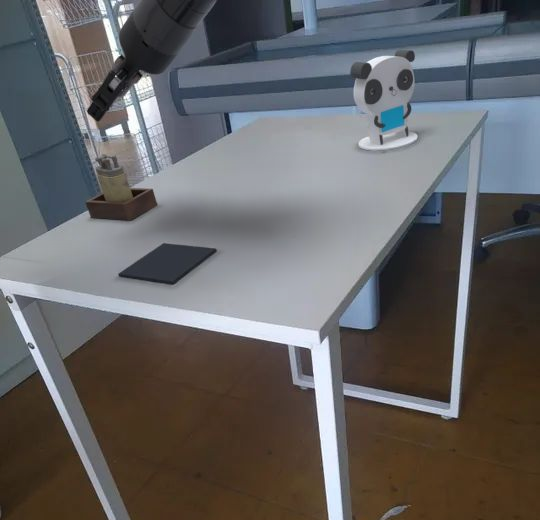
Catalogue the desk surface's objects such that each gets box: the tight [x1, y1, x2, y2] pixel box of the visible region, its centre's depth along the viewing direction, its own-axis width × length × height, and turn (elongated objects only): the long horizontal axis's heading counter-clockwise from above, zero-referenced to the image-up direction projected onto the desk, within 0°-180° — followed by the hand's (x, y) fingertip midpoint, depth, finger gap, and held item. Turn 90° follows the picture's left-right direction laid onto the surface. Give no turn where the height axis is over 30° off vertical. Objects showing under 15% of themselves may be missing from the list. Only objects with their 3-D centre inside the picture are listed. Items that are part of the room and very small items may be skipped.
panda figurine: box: [350, 49, 419, 152], centre depth 103 cm, size 12×11×15 cm
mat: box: [117, 242, 217, 285], centre depth 77 cm, size 10×10×1 cm
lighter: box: [94, 153, 133, 202], centre depth 96 cm, size 7×4×10 cm, turn 42°
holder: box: [84, 187, 158, 221], centre depth 98 cm, size 7×10×3 cm
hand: (105, 102), depth 85 cm, fingers open, 8 cm apart
